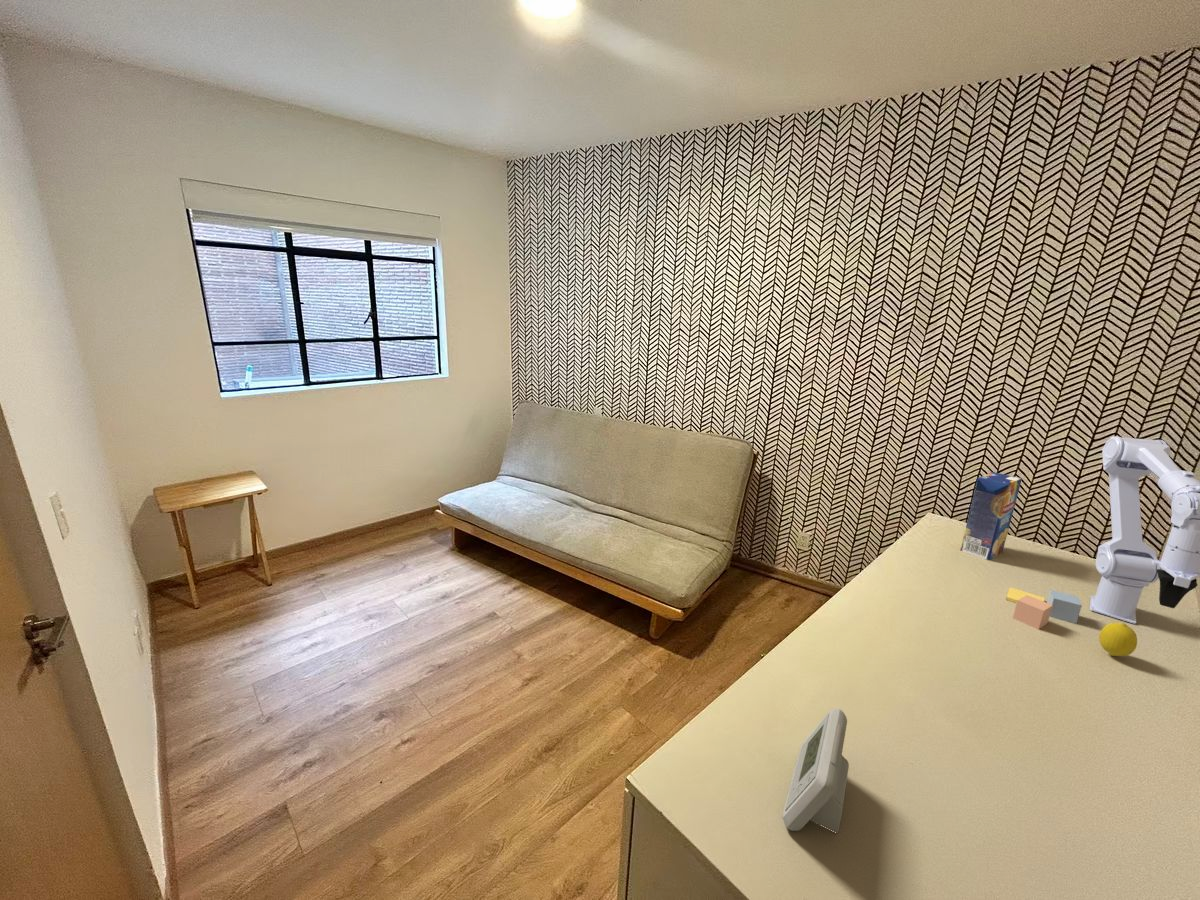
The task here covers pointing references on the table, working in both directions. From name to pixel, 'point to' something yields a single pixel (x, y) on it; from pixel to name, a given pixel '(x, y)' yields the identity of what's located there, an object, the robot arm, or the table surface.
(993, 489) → the juice carton
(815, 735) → the digital clock
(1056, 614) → the slate block
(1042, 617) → the terracotta block
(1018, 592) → the tile
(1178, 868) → the table surface
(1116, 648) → the lemon
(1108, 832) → the table surface
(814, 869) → the table surface
